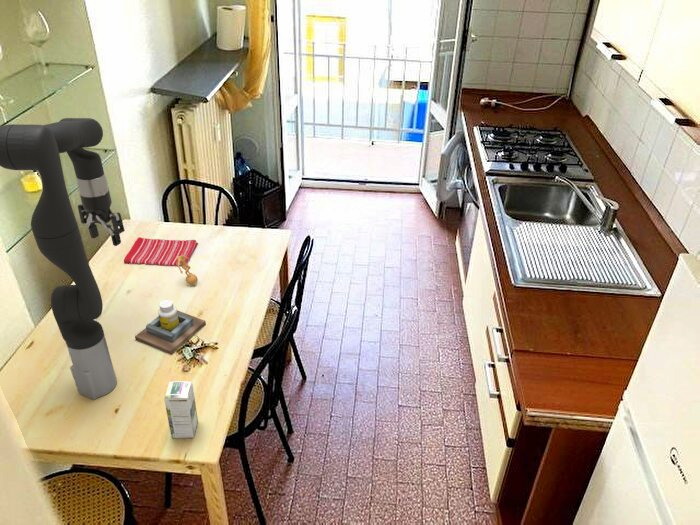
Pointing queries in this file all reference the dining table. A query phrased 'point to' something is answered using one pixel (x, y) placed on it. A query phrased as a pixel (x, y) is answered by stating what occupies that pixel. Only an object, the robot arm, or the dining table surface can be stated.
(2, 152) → the robot arm
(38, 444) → the dining table surface
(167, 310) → the supplement bottle
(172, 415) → the syrup box
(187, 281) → the figurine
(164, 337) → the cradle board
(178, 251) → the dish towel
